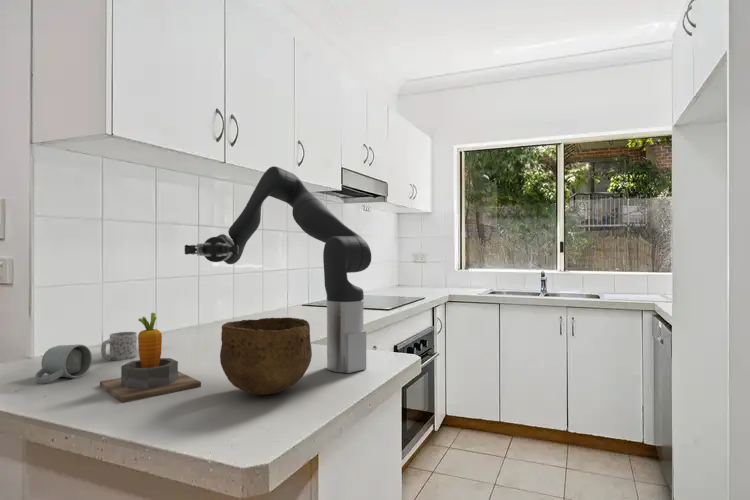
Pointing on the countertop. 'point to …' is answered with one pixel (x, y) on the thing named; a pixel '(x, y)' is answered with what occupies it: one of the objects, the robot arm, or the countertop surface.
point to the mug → (121, 346)
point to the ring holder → (148, 381)
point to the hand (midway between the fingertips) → (207, 249)
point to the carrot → (149, 343)
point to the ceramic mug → (64, 362)
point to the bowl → (265, 353)
